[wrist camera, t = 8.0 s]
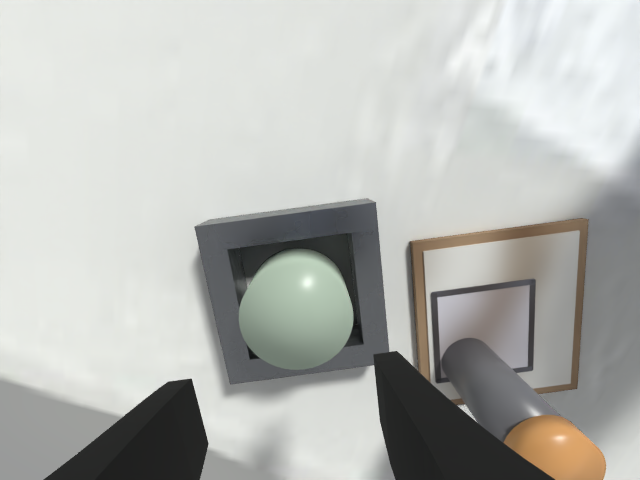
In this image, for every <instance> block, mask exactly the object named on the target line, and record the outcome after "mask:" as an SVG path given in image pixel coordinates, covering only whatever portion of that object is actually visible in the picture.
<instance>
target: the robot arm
mask: <svg viewBox="0 0 640 480" xmlns="http://www.w3.org/2000/svg"><path fill="white" fill-rule="evenodd" d="M373 357H374V367H375V376H376V386H377V396H378V405H379V415H380V423H381V427H382V431H383V435H384V439H385V444H386V448H387V452H388V456H389V460H390V464H391V467H392V470H393V473H394V476H395V479H396V480H555V479H554V478H552V477H551V476H549V475H548V474H546V473H545V472H544V471H542V470H541V469H539V468H538V467H536V466H535V465H533V464H532V463H530V462H529V461H527V460H526V459H525V458H523V457H522V456H520V455H519V454H518V453H516V452H515V451H514V450H512V449H511V448H510V447H508V446H507V445H506V444H504V443H503V442H502V441H500V440H499V439H498V438H496V437H495V436H494V435H493V434H491V433H490V432H489V431H487V430H486V429H485V428H484V427H482V426H481V425H480V424H478V423H477V422H476V421H475V420H474V419H472V418H471V417H470V416H469V415H467V414H466V413H465V412H464V411H463V410H461V409H460V408H459V407H458V406H457V405H456V404H454V403H453V402H452V401H451V400H450V399H449V398H447V397H446V396H445V395H444V394H443V393H442V392H440V391H439V390H438V389H437V388H436V387H435V386H434V385H433V384H431V383H430V382H429V381H428V380H427V379H426V378H425V377H424V376H423V375H422V374H421V373H420V372H419V371H417V370H416V369H415V368H414V367H413V366H412V365H411V364H410V363H409V362H408V361H407V360H406V359H405V358H404V357H403V356H402V355H401V354H400V353H398V352H397V351H394V352H387V353H379V354H373ZM207 448H208V440H207V436H206V432H205V429H204V425H203V421H202V417H201V413H200V409H199V405H198V401H197V398H196V394H195V390H194V386H193V382H192V379H185V380H178V381H171V382H167V383H166V384H165V385H163V386H162V387H160V388H159V389H158V390H156V391H155V392H154V393H152V394H151V395H150V396H148V397H147V398H146V399H145V400H143V401H142V402H141V403H140V404H138V405H137V406H136V407H135V408H133V409H132V410H131V411H130V412H129V413H127V414H126V415H125V416H124V417H122V418H121V419H120V420H119V421H117V422H116V423H115V424H114V425H113V426H111V427H110V428H109V429H108V430H106V431H105V432H104V433H103V434H101V435H100V436H99V437H98V438H96V439H95V440H94V441H93V442H91V443H90V444H89V445H88V446H87V447H85V448H84V449H83V450H82V451H81V452H79V453H78V454H77V455H75V456H74V457H73V458H71V459H70V460H69V461H67V462H66V463H65V464H64V465H62V466H61V467H60V468H58V469H57V470H56V471H54V472H53V473H52V474H51V475H49V476H48V477H47V478H45V479H44V480H200V476H201V472H202V469H203V464H204V460H205V456H206V452H207Z"/></svg>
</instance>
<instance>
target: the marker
mask: <svg viewBox="0 0 640 480" xmlns="http://www.w3.org/2000/svg"><path fill="white" fill-rule="evenodd" d="M442 368H443V371H444V373H445V375H446V376H447V378H448V379H449V381H450V382H451V384H452V385H453V387H454V388H455V390H456V391H457V392H458V394H459V395H460V397H461V398H462V400H463V401H464V403H465V404H466V406H467V407H468V409H469V410H470V412H471V413H472V415H473V416H474V418H475V419H476V421H477V422H478V424H480V425H481V426H482V427H484V428H485V429H486V430H487V431H489V432H490V433H491V434H493V435H494V436H495V437H496V438H498V439H499V440H500V441H502V442H503V443H504V444H506V445H507V446H508V447H510V448H511V449H512V450H514V451H515V452H516V453H518V454H519V455H520V456H522V457H523V458H525V459H526V460H527V461H529V462H530V463H532V464H533V465H535V466H536V467H538V468H539V469H541V470H542V471H544V472H545V473H546V474H548V475H549V476H551V477H552V478H554V479H555V480H603V478H604V476H605V471H606V462H605V458H604V456H603V454H602V452H601V451H600V449H599V448H598V447H597V446H596V445H595V444H594V443H592V442H591V441H590V440H589V439H588V438H587V437H586V436H585V435H584V434H583V433H582V432H581V431H580V430H579V429H578V428H577V427H576V426H575V425H574V424H572V423H571V422H570V421H569V420H567V419H565V418H563V417H561V416H560V415H559V414H558V413H557V412H556V411H555V410H554V409H553V408H552V407H551V406H550V405H549V404H548V403H547V402H546V401H545V400H544V399H543V398H542V397H541V396H540V395H538V394H537V393H536V392H535V391H534V390H533V389H532V388H531V387H530V386H529V385H528V384H527V383H526V382H525V381H524V380H523V379H522V378H521V377H520V376H519V375H518V374H517V373H516V372H515V371H514V370H513V369H512V368H511V367H509V366H508V365H507V364H506V363H505V362H504V361H503V360H502V359H501V358H500V357H499V356H498V355H497V354H496V353H495V352H494V351H493V350H492V349H491V348H490V347H489V346H488V345H487V344H486V343H484V342H483V341H481V340H479V339H476V338H464V339H460V340H458V341H456V342H454V343H453V344H451V345H450V346H449V347H448V348H447V349H446V351H445V353H444V355H443V358H442Z"/></svg>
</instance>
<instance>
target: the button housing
mask: <svg viewBox="0 0 640 480" xmlns="http://www.w3.org/2000/svg"><path fill="white" fill-rule="evenodd" d="M195 231H196V236H197V240H198V244H199V249H200V253H201V258H202V262H203V266H204V271H205V275H206V280H207V284H208V289H209V293H210V297H211V302H212V306H213V311H214V315H215V319H216V324H217V328H218V333H219V337H220V342H221V346H222V350H223V355H224V359H225V364H226V368H227V373H228V377H229V381H230V384H236V383H244V382H251V381H259V380H266V379H274V378H281V377H288V376H296V375H303V374H311V373H318V372H326V371H333V370H341V369H348V368H356V367H363V366H370V365H374V357H373V354H379V353H387V352H389V344H388V333H387V322H386V311H385V299H384V288H383V277H382V266H381V255H380V244H379V232H378V221H377V210H376V202H374V201H372V200H370V199H360V200H352V201H345V202H338V203H330V204H323V205H315V206H308V207H300V208H293V209H285V210H278V211H270V212H263V213H256V214H248V215H241V216H233V217H226V218H218V219H211V220H208V221H206V222H203V223H201V224H199V225H197V226H195ZM345 233H347V235H348V244H349V252H350V261H351V270H352V279H353V288H354V297H355V306H356V314H357V323H358V324H356V325H353V327H352V331H351V334H350V336H349V339H348V340H347V342H346V344H345V345H344V347H343V348H342V349H341V351H340V352H339V353H338V354H337V355H335V356H334V357H333V358H332V359H330V360H329V361H327V362H325V363H323V364H321V365H319V366H316V367H313V368H309V369H302V370H290V369H283V368H280V367H276V366H274V365H271V364H269V363H267V362H265V361H264V360H262V359H261V358H259V357H258V356H257V355H256V354H255V353H254V352H253V351H252V350H251V349H250V348H249V346H248V345H247V343H246V342H245V340H244V338H243V336H242V333H241V330H240V326H239V309H240V304H241V301H242V298H243V296H244V294H245V292H246V290H247V284H246V279H245V274H244V269H243V264H242V259H241V254H240V249H239V248H241V247H248V246H256V245H263V244H271V243H278V242H285V241H293V240H300V239H308V238H315V237H323V236H330V235H338V234H345Z"/></svg>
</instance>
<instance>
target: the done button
mask: <svg viewBox="0 0 640 480" xmlns="http://www.w3.org/2000/svg"><path fill="white" fill-rule="evenodd" d="M239 326H240V330H241V333H242V336H243V338H244V340H245V342H246V343H247V345H248V346H249V348H250V349H251V350H252V351H253V352H254V353H255V354H256V355H257V356H258V357H259V358H261V359H262V360H264V361H265V362H267V363H269V364H271V365H274V366H276V367H280V368H283V369H290V370H302V369H309V368H313V367H316V366H319V365H321V364H323V363H325V362H327V361H329V360H330V359H332V358H333V357H334V356H335V355H337V354H338V353H339V352H340V351H341V349H342V348H343V347H344V345H345V344H346V342H347V340H348V339H349V336H350V334H351V331H352V327H353V308H352V304H351V300H350V297H349V294H348V291H347V287H346V284H345V281H344V278H343V276H342V274H341V272H340V270H339V269H338V267H337V266H336V265H335V264H334V262H333V261H331V260H330V259H329V258H328V257H326V256H325V255H323V254H321V253H319V252H317V251H314V250H311V249H305V248H292V249H287V250H283V251H280V252H278V253H276V254H274V255H272V256H271V257H269V258H268V259H267V260H266V261H265V262H264V263H263V264H262V265H261V266H260V267H259V269H258V270H257V272H256V274H255V276H254V277H253V279H252V281H251V283H250V285H249V287H248V288H247V290H246V292H245V294H244V296H243V298H242V301H241V304H240V309H239Z"/></svg>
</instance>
